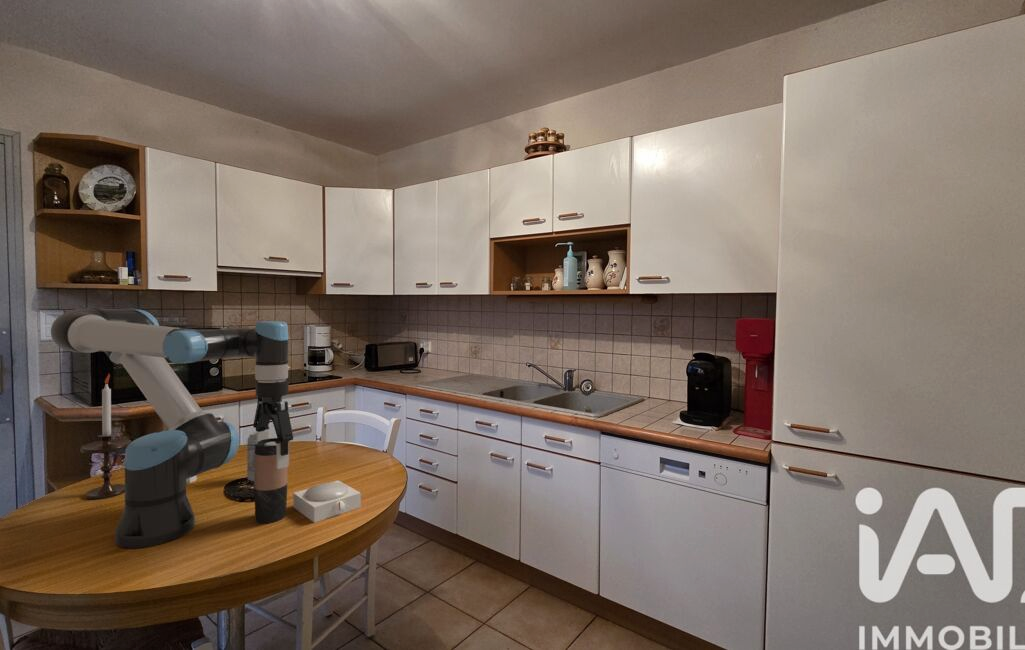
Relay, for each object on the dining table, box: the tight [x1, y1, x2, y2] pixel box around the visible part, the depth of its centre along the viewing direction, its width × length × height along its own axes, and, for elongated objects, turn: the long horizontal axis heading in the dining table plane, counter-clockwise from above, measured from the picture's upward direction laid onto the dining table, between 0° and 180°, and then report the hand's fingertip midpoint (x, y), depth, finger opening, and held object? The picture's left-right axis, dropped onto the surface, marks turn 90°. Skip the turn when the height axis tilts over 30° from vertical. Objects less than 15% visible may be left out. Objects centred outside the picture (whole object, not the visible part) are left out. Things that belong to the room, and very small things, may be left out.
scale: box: [292, 480, 362, 524], centre depth 124 cm, size 13×14×5 cm
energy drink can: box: [246, 431, 258, 482], centre depth 142 cm, size 6×6×15 cm
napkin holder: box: [186, 475, 198, 484], centre depth 142 cm, size 15×11×6 cm
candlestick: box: [80, 374, 132, 501], centre depth 129 cm, size 11×11×35 cm
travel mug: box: [253, 437, 288, 524], centre depth 117 cm, size 8×8×20 cm
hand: (272, 461), depth 117 cm, fingers open, 13 cm apart
